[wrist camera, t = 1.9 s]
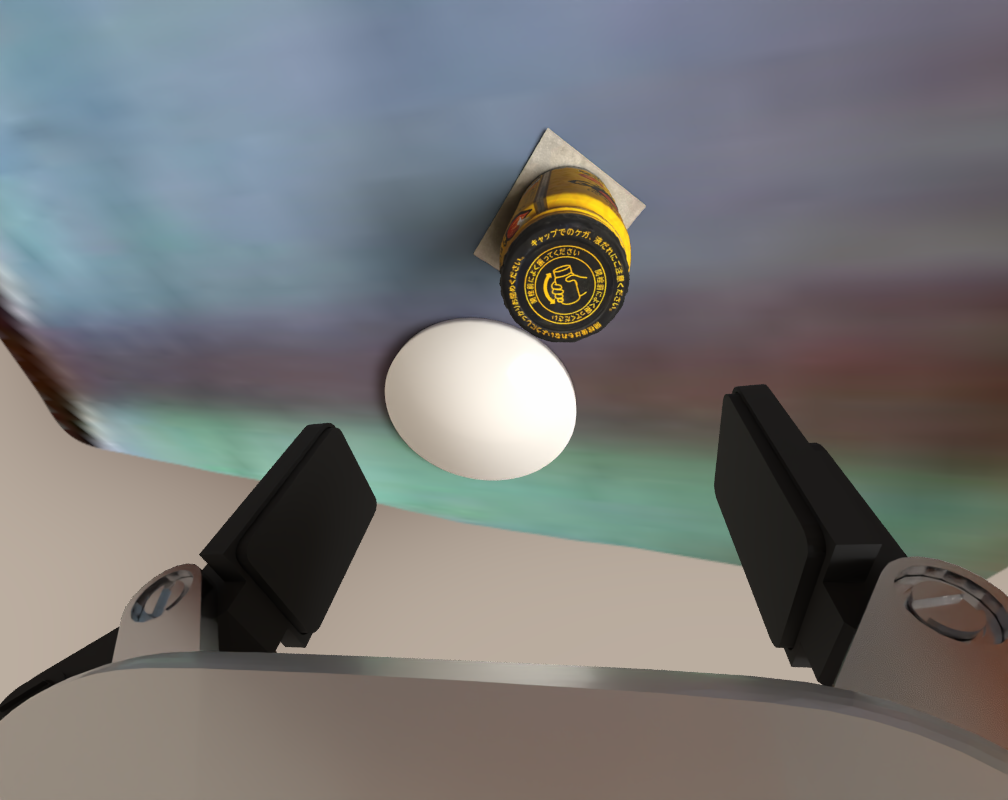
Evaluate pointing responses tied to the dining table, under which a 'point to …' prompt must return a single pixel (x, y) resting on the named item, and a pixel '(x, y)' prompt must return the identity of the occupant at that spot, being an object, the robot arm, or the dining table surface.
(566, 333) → the condiment
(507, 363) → the plate
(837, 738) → the robot arm
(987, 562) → the dining table surface
